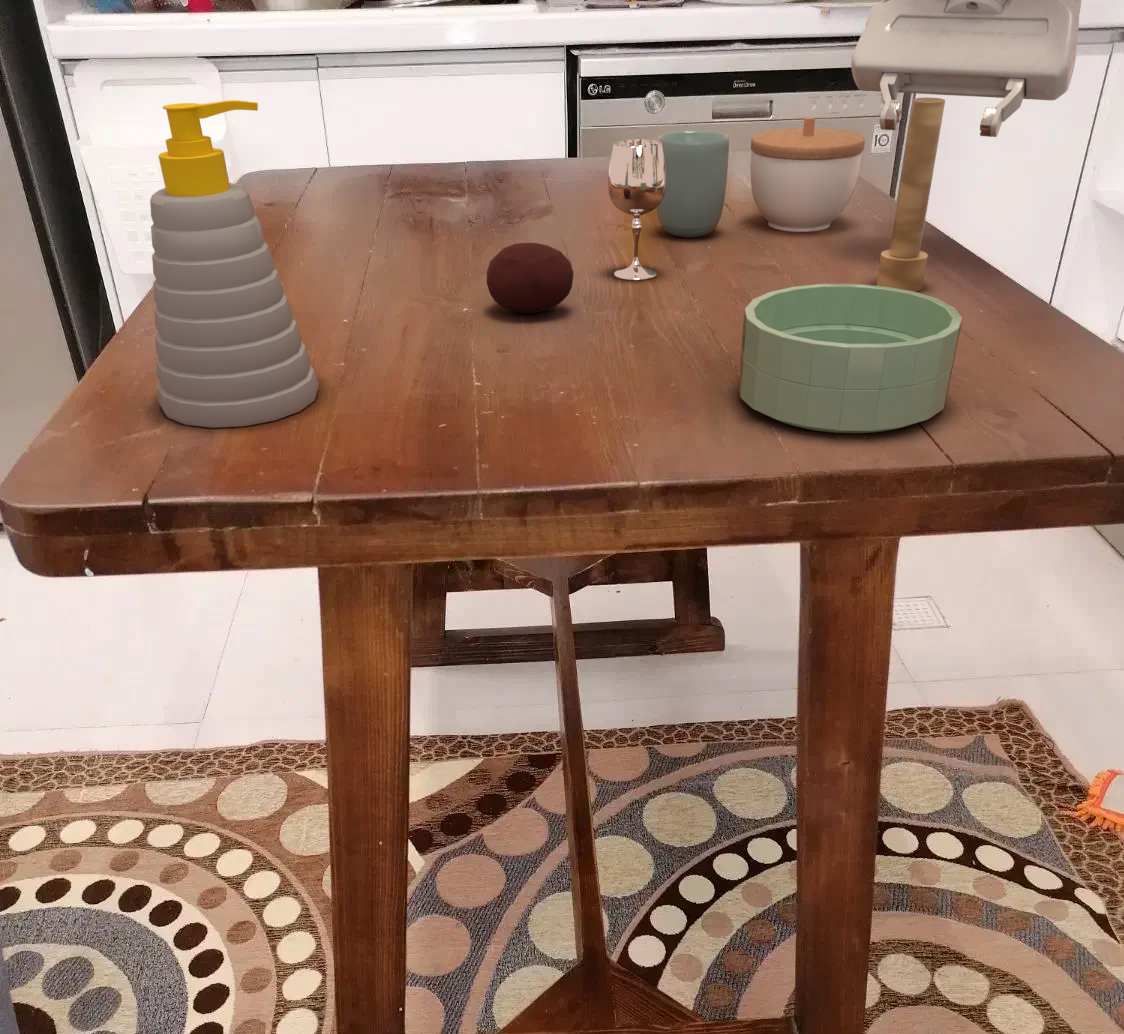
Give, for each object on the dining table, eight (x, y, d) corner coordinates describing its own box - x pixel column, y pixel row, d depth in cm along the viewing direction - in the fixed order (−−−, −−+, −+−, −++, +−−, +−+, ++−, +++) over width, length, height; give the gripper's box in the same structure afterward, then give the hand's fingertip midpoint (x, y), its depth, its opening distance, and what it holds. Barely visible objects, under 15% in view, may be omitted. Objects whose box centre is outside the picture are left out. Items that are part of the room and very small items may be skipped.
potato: (539, 329, 100) (537, 259, 96) (470, 314, 104) (465, 246, 100) (586, 309, 104) (586, 241, 101) (518, 295, 108) (515, 230, 105)
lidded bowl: (803, 207, 136) (814, 105, 129) (876, 227, 127) (892, 118, 120) (723, 222, 131) (729, 116, 124) (793, 243, 122) (805, 131, 115)
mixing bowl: (921, 366, 90) (936, 283, 86) (964, 439, 78) (984, 346, 74) (732, 366, 91) (738, 284, 87) (745, 438, 79) (753, 346, 75)
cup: (642, 237, 126) (644, 138, 120) (676, 223, 131) (680, 128, 125) (702, 245, 122) (707, 144, 116) (734, 230, 127) (741, 133, 121)
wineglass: (612, 266, 116) (613, 138, 109) (666, 267, 115) (671, 138, 108) (603, 280, 112) (603, 148, 104) (659, 282, 111) (663, 149, 103)
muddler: (917, 280, 110) (948, 95, 100) (926, 293, 106) (959, 102, 96) (873, 280, 110) (899, 96, 100) (880, 293, 106) (908, 103, 97)
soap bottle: (327, 417, 84) (279, 110, 71) (157, 437, 81) (77, 123, 69) (313, 365, 93) (268, 87, 81) (161, 381, 91) (91, 97, 78)
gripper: (873, -33, 105) (825, 99, 105) (1099, -32, 97) (1049, 111, 96) (880, 19, 111) (834, 144, 110) (1094, 24, 103) (1047, 159, 102)
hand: (936, 129), depth 103 cm, fingers open, 8 cm apart
